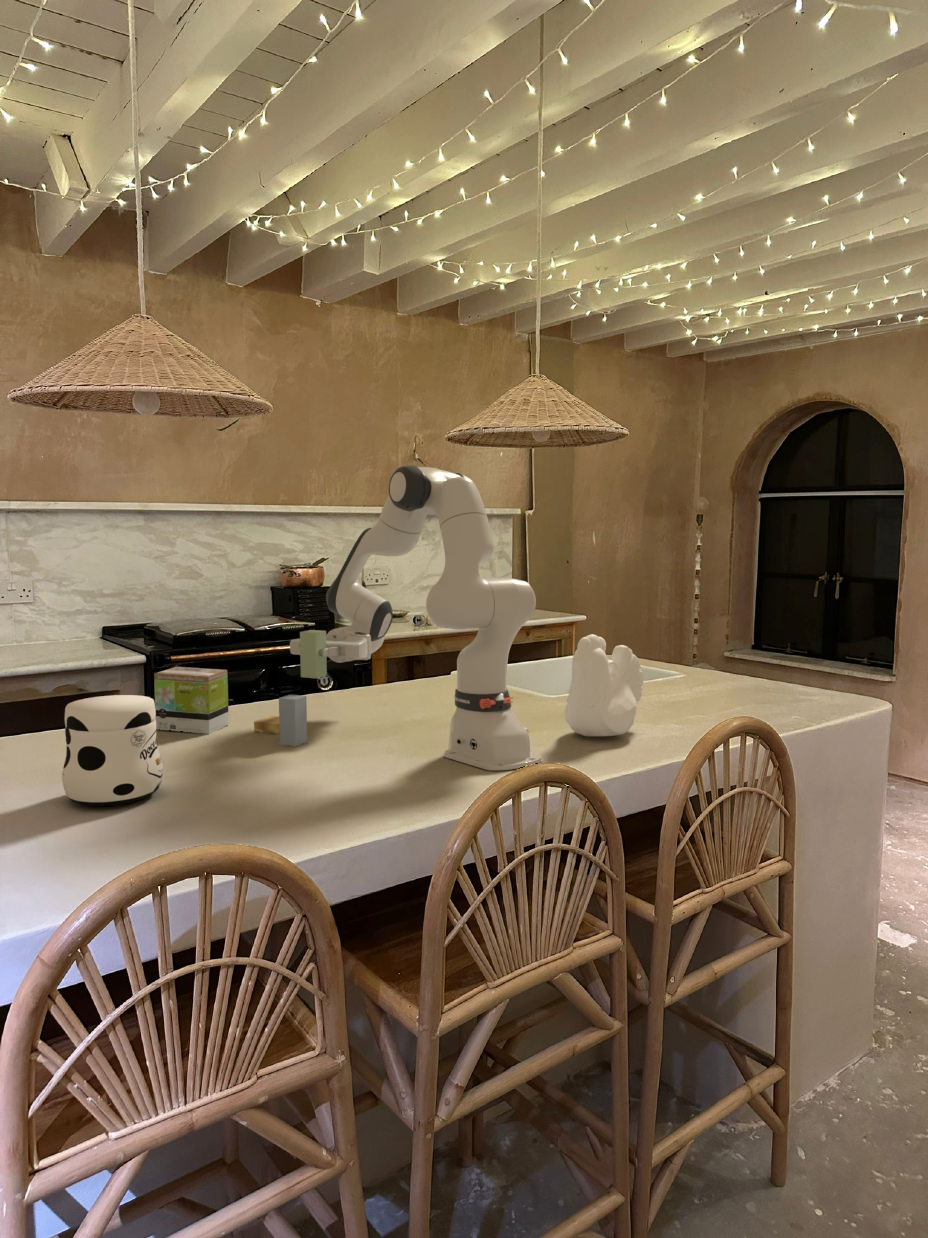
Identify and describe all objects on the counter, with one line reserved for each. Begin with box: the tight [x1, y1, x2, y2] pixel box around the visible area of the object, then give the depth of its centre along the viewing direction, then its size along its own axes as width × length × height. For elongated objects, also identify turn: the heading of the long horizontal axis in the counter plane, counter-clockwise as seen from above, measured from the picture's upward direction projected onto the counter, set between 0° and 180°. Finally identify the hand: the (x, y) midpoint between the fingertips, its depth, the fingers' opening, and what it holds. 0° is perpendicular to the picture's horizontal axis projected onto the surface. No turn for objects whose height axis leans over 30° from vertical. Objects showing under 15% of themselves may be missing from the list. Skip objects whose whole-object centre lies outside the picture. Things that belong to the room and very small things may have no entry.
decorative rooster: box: [563, 633, 644, 737], centre depth 208 cm, size 25×16×25 cm, turn 120°
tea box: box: [153, 666, 229, 735], centre depth 213 cm, size 15×10×15 cm, turn 76°
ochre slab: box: [253, 715, 280, 735], centre depth 213 cm, size 7×7×2 cm
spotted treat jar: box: [61, 694, 164, 807], centre depth 159 cm, size 17×17×18 cm
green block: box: [299, 629, 328, 679], centre depth 208 cm, size 4×4×11 cm
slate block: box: [278, 693, 308, 747], centre depth 199 cm, size 4×4×11 cm
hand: (311, 652), depth 207 cm, fingers closed on green block, 4 cm apart
